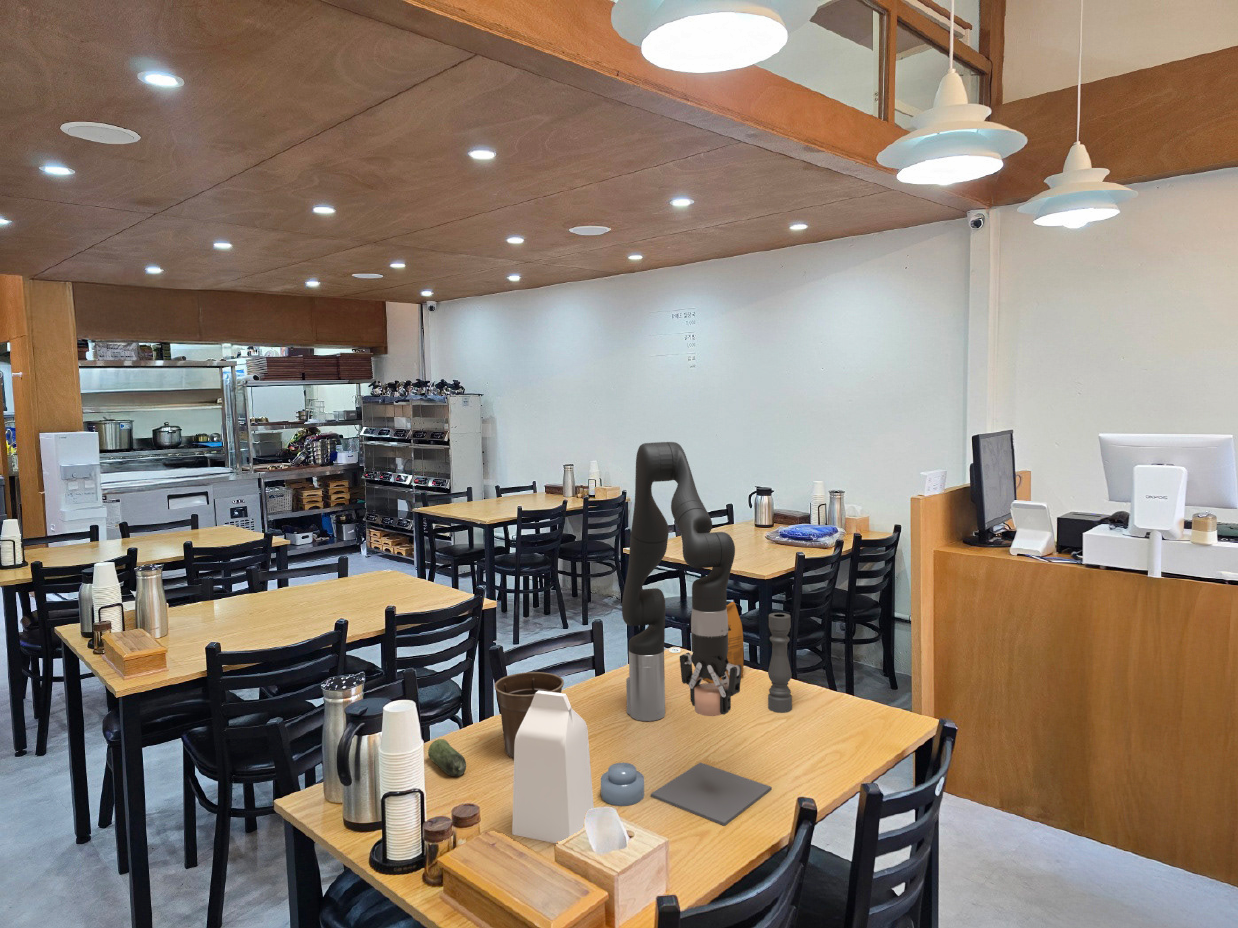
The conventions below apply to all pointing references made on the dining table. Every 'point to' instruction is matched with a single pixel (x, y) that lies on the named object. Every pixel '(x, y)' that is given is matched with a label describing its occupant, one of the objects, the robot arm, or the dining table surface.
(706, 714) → the lid
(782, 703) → the candle holder
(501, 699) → the plant pot
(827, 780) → the dining table surface
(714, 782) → the mat
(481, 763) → the dining table surface
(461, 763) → the vegetable
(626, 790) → the sugar pot
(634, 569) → the robot arm
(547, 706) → the milk
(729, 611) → the coffee package
